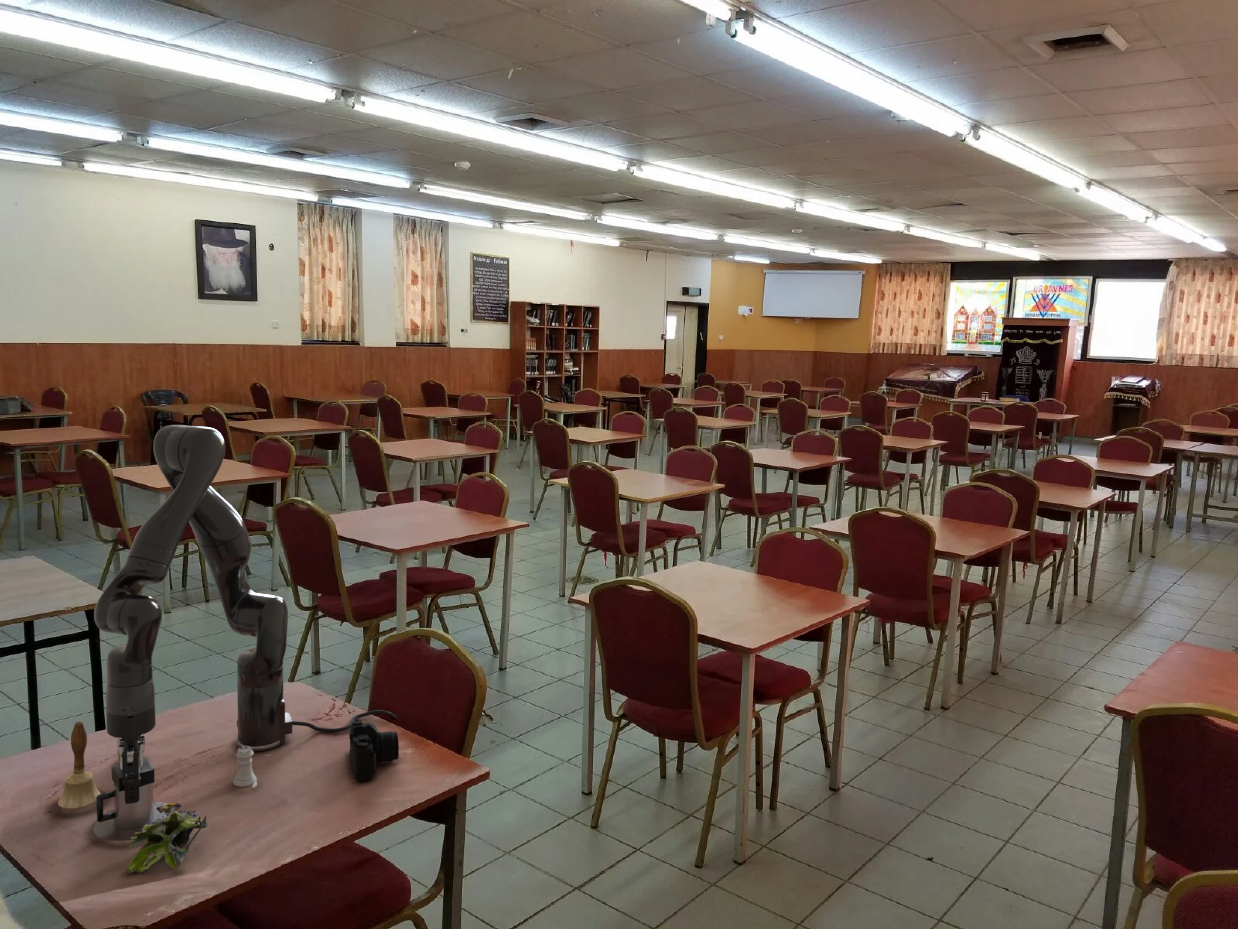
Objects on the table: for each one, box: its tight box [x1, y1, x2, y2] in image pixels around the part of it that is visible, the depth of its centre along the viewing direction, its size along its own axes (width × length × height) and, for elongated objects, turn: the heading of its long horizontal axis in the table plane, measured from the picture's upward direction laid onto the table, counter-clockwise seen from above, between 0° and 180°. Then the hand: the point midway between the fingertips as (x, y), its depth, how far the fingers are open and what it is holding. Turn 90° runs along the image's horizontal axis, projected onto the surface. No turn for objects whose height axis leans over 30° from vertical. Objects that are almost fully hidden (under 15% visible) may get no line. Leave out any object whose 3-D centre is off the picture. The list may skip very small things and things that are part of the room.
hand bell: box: [57, 721, 102, 809], centre depth 163 cm, size 8×8×16 cm
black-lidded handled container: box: [95, 757, 156, 830], centre depth 157 cm, size 9×6×10 cm
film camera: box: [348, 718, 400, 783], centre depth 185 cm, size 15×10×9 cm, turn 22°
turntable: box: [91, 801, 174, 842], centre depth 158 cm, size 13×13×1 cm
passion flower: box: [126, 802, 208, 874], centre depth 148 cm, size 11×11×12 cm
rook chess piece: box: [232, 746, 258, 790], centre depth 173 cm, size 4×4×8 cm
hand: (133, 790), depth 157 cm, fingers open, 8 cm apart
